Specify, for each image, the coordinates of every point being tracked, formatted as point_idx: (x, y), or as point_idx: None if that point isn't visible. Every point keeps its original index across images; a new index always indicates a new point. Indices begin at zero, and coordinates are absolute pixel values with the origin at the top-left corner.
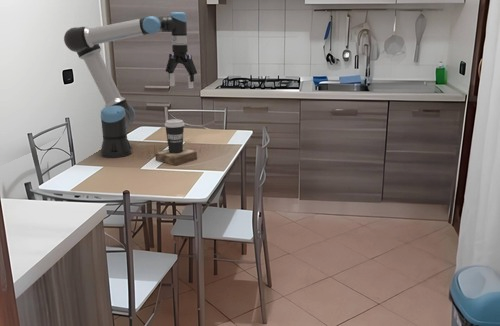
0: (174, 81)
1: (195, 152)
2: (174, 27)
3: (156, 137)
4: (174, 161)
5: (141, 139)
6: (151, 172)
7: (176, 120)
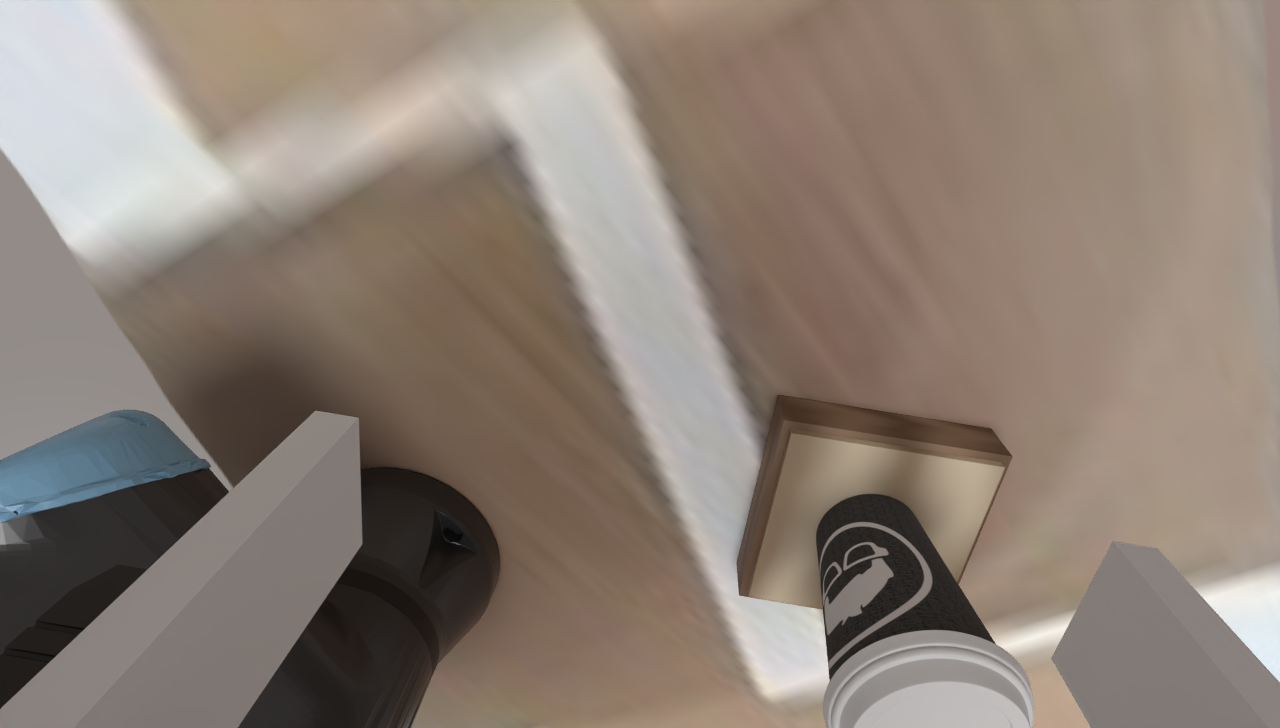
0: (290, 503)
1: (1006, 467)
2: None
3: (216, 13)
4: None
5: (181, 157)
6: None
7: (929, 699)
